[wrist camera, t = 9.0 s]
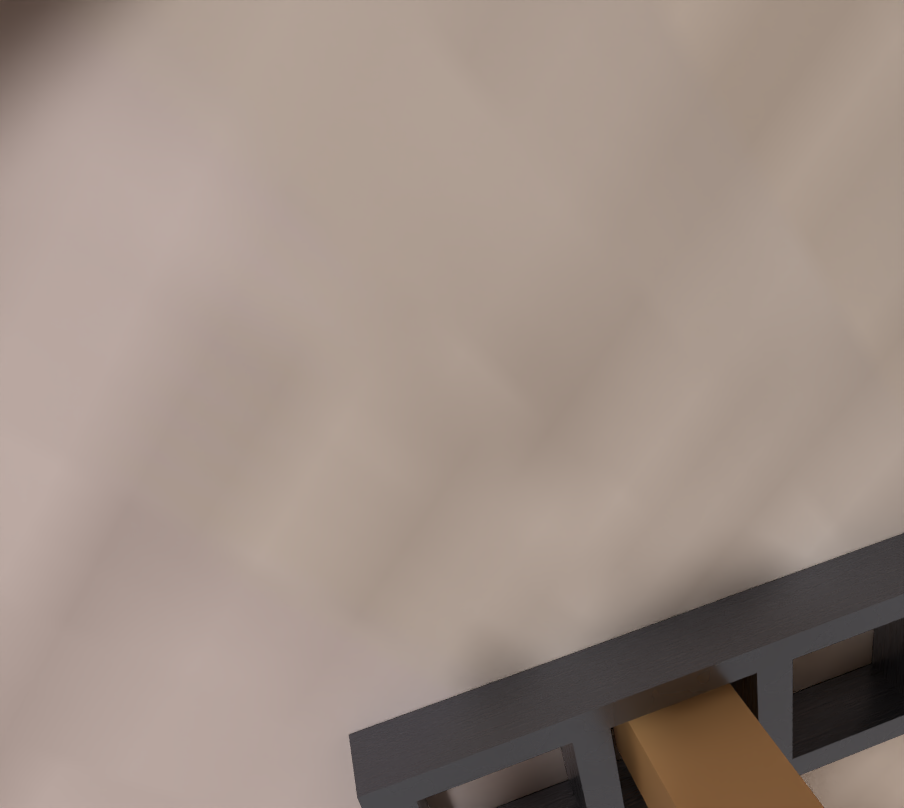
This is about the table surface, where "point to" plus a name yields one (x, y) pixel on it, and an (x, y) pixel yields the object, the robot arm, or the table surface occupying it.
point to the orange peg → (709, 757)
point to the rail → (665, 691)
